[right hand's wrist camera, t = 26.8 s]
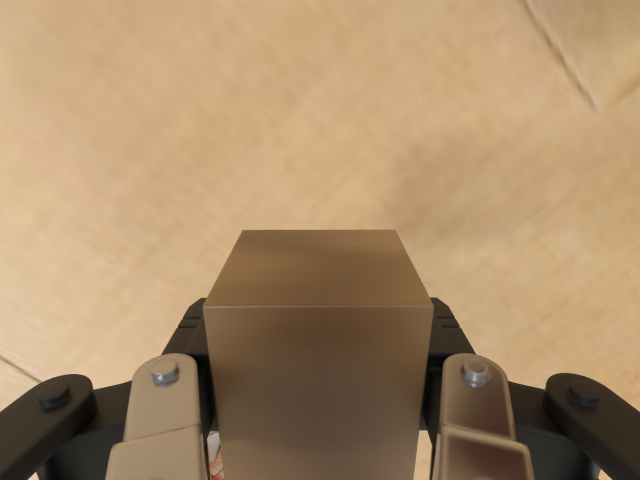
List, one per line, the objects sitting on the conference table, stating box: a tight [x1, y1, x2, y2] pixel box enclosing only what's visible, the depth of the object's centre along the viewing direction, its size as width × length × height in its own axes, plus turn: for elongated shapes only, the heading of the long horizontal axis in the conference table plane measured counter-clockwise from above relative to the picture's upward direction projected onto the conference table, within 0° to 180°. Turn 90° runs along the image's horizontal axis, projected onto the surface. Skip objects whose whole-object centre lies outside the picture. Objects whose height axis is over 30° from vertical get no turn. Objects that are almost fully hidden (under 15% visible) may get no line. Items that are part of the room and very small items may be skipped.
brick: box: [203, 230, 434, 480], centre depth 11 cm, size 5×5×4 cm
